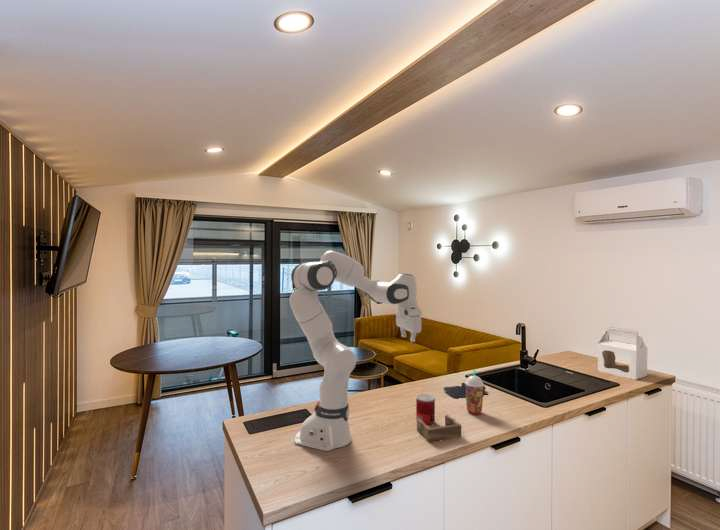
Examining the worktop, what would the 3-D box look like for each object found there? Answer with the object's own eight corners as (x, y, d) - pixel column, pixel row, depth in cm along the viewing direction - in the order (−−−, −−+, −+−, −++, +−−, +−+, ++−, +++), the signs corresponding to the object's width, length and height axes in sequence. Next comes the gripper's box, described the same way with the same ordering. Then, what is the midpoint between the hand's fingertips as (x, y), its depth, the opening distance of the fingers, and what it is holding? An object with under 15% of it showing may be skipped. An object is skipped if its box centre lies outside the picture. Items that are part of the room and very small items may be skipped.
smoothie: (461, 410, 181) (461, 368, 180) (475, 408, 184) (476, 366, 183) (472, 417, 173) (472, 373, 172) (487, 414, 176) (487, 371, 175)
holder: (416, 430, 160) (416, 418, 160) (447, 426, 164) (447, 414, 164) (428, 442, 149) (428, 430, 149) (461, 437, 154) (461, 425, 154)
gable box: (597, 370, 243) (597, 327, 243) (608, 367, 250) (608, 325, 249) (636, 380, 224) (637, 332, 223) (647, 377, 231) (648, 330, 230)
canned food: (434, 426, 163) (434, 401, 163) (415, 425, 165) (415, 399, 165) (434, 419, 171) (434, 394, 171) (416, 417, 173) (416, 393, 172)
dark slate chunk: (439, 390, 209) (439, 381, 209) (474, 386, 215) (474, 378, 215) (454, 400, 195) (454, 391, 194) (491, 396, 201) (491, 387, 201)
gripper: (392, 306, 183) (393, 335, 183) (410, 312, 163) (411, 345, 164) (404, 305, 185) (405, 334, 185) (423, 311, 165) (424, 343, 166)
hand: (408, 339), depth 174 cm, fingers open, 8 cm apart
